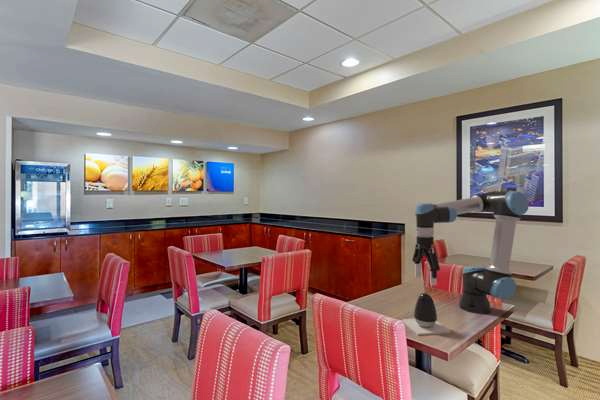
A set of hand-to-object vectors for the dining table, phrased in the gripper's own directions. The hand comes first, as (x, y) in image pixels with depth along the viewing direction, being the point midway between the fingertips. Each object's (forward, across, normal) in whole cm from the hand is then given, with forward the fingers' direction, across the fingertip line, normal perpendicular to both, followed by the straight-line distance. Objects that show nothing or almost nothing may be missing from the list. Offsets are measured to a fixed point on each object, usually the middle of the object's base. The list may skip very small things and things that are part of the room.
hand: (425, 280), depth 150 cm
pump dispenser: (+21, 0, 0) cm, 21 cm away
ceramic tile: (+22, 0, 0) cm, 22 cm away
